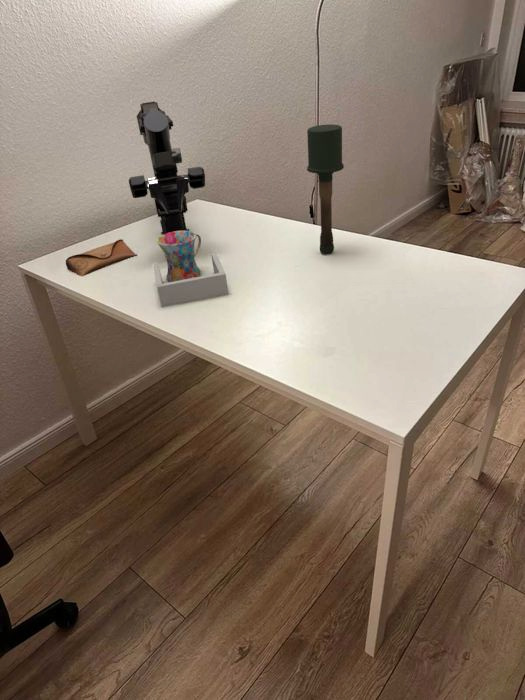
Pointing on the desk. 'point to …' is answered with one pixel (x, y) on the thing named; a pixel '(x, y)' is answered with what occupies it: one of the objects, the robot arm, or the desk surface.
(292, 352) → the desk surface
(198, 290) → the grey open tray
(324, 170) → the stick grenade
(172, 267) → the mug
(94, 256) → the sunglasses case
